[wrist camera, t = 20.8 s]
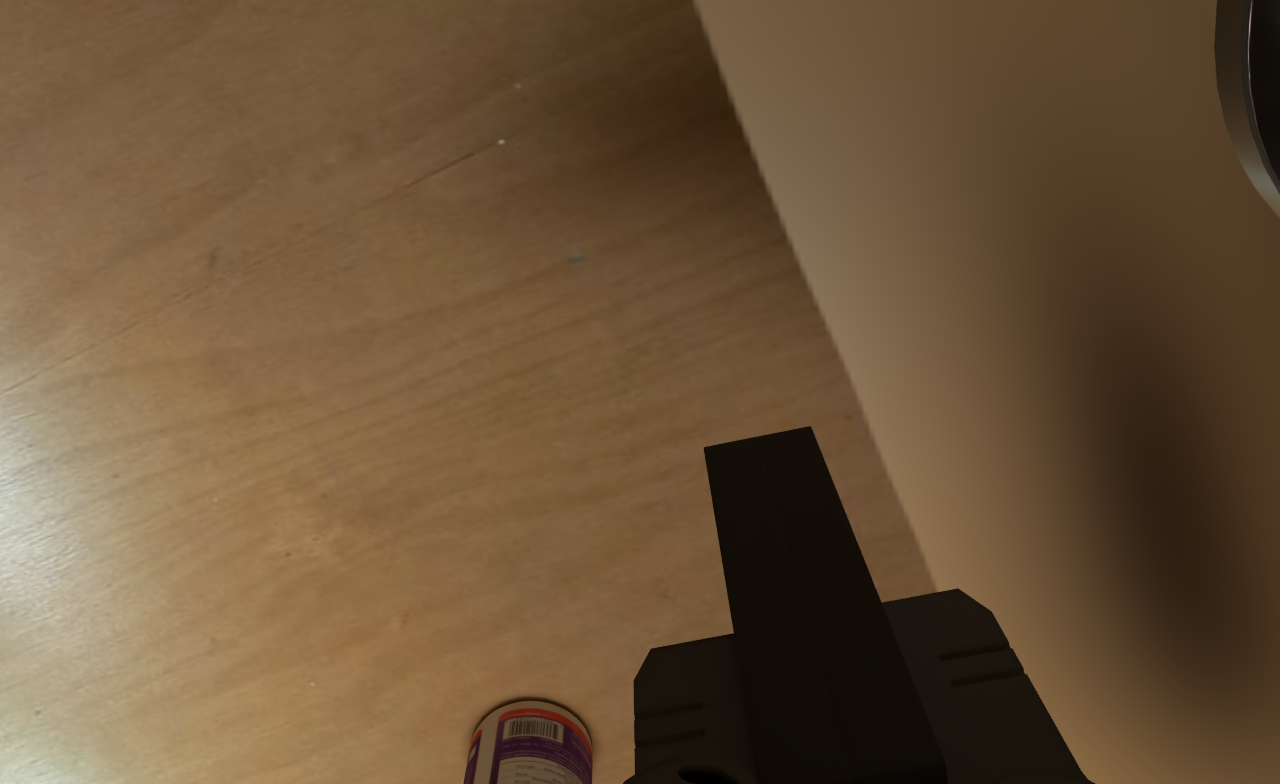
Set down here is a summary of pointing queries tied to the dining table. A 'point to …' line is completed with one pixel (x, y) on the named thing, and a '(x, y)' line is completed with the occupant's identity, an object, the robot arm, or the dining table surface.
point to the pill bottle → (530, 747)
